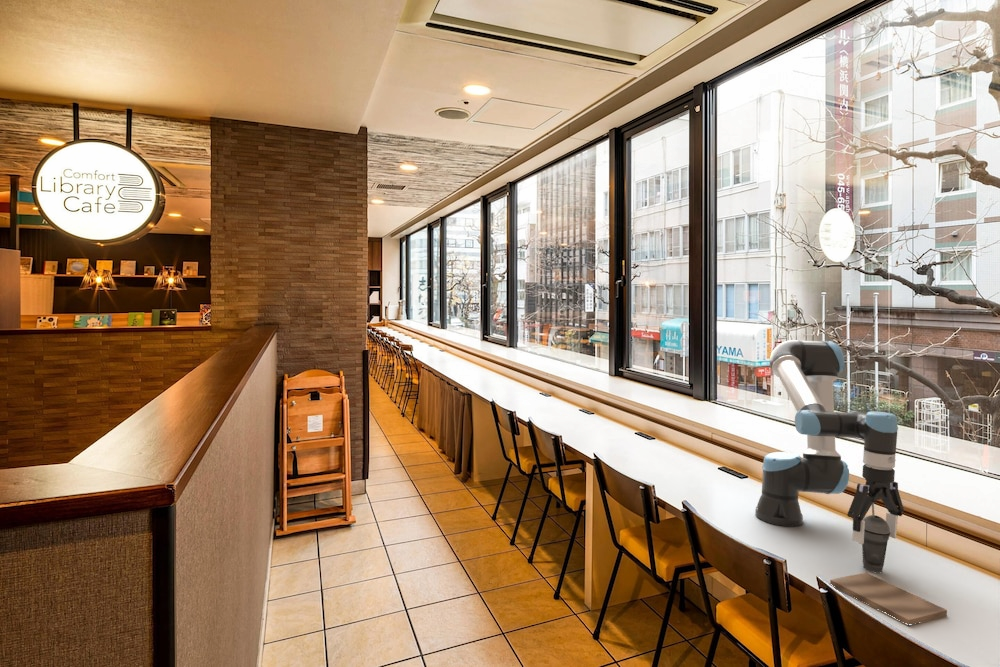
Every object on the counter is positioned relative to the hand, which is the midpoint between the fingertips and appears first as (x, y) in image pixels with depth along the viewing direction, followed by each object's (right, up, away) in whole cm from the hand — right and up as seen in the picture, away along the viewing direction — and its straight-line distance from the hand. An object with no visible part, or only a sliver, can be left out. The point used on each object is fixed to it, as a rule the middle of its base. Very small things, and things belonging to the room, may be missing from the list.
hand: (874, 539), depth 156 cm
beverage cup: (0, -9, 0) cm, 9 cm away
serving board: (-9, -9, -17) cm, 21 cm away
